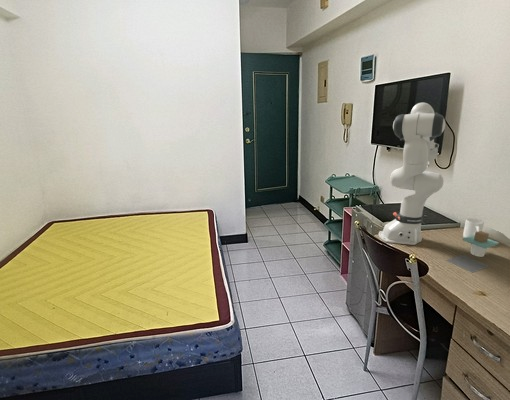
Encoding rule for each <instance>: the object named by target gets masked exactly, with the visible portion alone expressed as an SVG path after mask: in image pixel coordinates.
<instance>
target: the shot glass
mask: <svg viewBox="0 0 510 400" xmlns="http://www.w3.org/2000/svg"><path fill="white" fill-rule="evenodd" d="M470 244H471V243H470ZM487 249H488V248H486V249H484V248H482V247H479V246H477V245H474V244H471V245H470V254H471V255H472V256H475V257H481V258H482V257H485V255H486V252H487Z"/></svg>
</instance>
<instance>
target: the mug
mask: <svg viewBox="0 0 510 400" xmlns="http://www.w3.org/2000/svg"><path fill="white" fill-rule="evenodd" d="M484 223H485V222H484V220H482V219H478V218H473V217H467V218H465V223H464V228H463V233H462V236H463V238H466V237H470V236H473V235H475V232H479V231H482V232H483V229H484V228H483V227H484Z"/></svg>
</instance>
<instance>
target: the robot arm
mask: <svg viewBox="0 0 510 400" xmlns="http://www.w3.org/2000/svg"><path fill="white" fill-rule="evenodd" d="M392 129H393V133H394V135H395V136H396V137H397V138H399V141H404V145H403V151H402V159H403V160H402V166H401V167H399V168H396V169H394V170H392V172H391V173H390V176H389V183H390V184H391V186H392V187H395V188H397V189H402V190H408V191H415V193H414V194H411V195H407V196H405V197H403V198H402V199H401V202H400V210H399V213H397V212H396V211H395V212H393V213H392V215H393V216H394V217H395V218H394V219H393V220H391V221H390V222H387V223H386V224H385V225H384V226H383V229H382V230H379V232H378V237H379V238H380V240H381V241H383V242H386V243H390V244H400V245H402V244H403V245H409V246H410V245H412V246H415V245H417V244H418V243H421V242H422V241H423V238H422V229H421V228H422V224H423V218H424V217H423V212H424V206H425V204H426V202H427V200H428V198H429V197H430V196H432V195H433V194H435V193H437V192H439V191H441V189H442V188H443V186H444V178H443V176H442V174H441V173H438V172H434V171H432V170H431V171H430V170H427V169H428V168H429V167H430V164H431V163H432V161H433V160H436V159H437V157H438V155H439V154H438V153H439V152H438V151H439V146H440V144H439V143H436V142H435V139H436V138H438V137H441V135H442V134H443V132H444V130H445V129H446V120H445V117H444V115H442V114H440V113H438V112H437V111H436V112H435V109H434V108H433V107H432V105H430V104H429V103H427V102H418V103H416V104H415V105H414V106H413V107H412V109H411V111H410V112H409V113H408V114H405V113H403V114H402V113H401V114H398V115H397V116H395V119H394V121H393V124H392Z"/></svg>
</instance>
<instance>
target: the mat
mask: <svg viewBox="0 0 510 400" xmlns="http://www.w3.org/2000/svg"><path fill="white" fill-rule="evenodd" d="M445 261H446V262H448V263H450V264H452V265H455V266H458V267H459V268H461V269H463V270H466V271H468V272H470V273H472V274H473V273H476V272H478V271H481V270H484V269H487V268H489V267H490V265H488V264H486V263H484V262H482V261H478V260H476V259H474V258H472V257H469V256H468V255H465V254H461V255H458V256H455V257H451V258H448V259H445Z"/></svg>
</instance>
